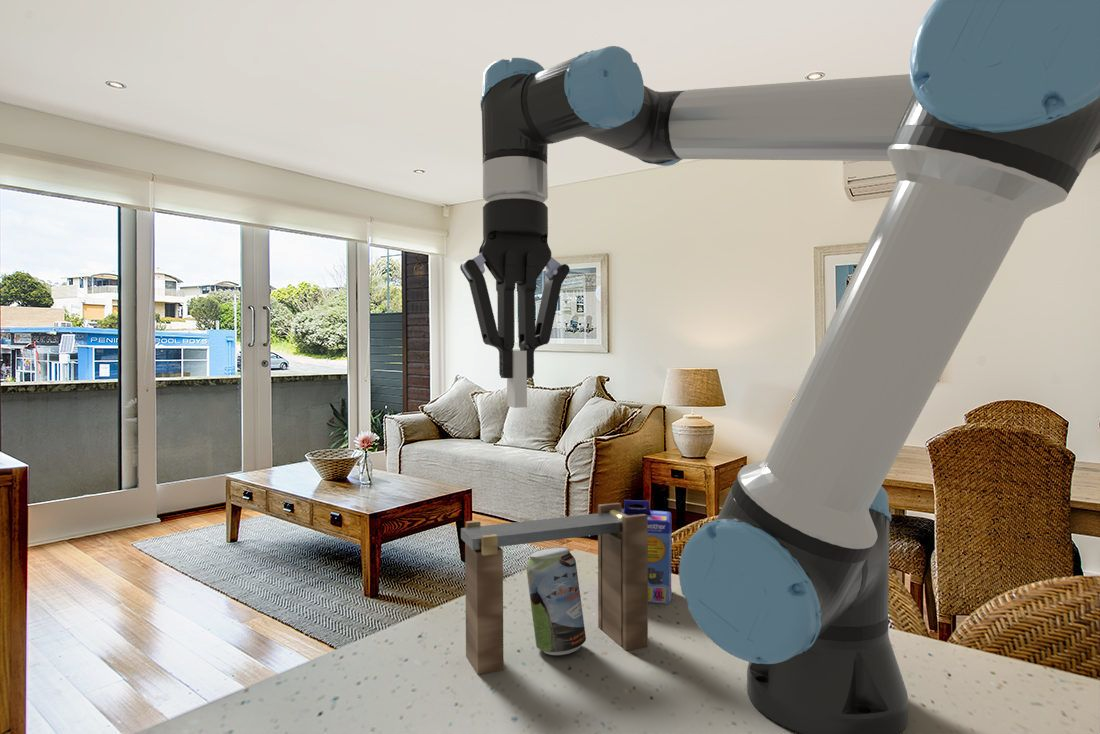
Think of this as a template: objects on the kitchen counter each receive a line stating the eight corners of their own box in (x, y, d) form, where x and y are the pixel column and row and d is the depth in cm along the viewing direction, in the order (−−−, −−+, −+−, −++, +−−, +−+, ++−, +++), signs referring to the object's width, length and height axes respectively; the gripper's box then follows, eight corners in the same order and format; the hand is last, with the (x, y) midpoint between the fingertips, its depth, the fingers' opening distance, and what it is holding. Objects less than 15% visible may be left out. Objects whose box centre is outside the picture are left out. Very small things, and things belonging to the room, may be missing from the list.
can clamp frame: (618, 623, 87) (618, 502, 87) (647, 646, 80) (647, 515, 80) (463, 651, 79) (462, 518, 79) (480, 679, 72) (479, 534, 72)
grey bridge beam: (618, 522, 85) (618, 508, 85) (638, 532, 81) (638, 517, 81) (460, 540, 78) (460, 525, 77) (472, 552, 73) (472, 536, 73)
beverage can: (574, 666, 75) (573, 561, 75) (517, 654, 78) (516, 553, 78) (594, 644, 81) (593, 546, 81) (540, 633, 84) (539, 539, 84)
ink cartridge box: (601, 600, 95) (600, 500, 95) (605, 587, 101) (605, 492, 100) (671, 605, 93) (671, 503, 93) (671, 591, 99) (671, 495, 98)
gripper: (554, 213, 83) (556, 402, 83) (452, 205, 78) (454, 406, 78) (580, 200, 76) (581, 406, 76) (469, 190, 71) (471, 411, 71)
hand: (517, 406), depth 77 cm, fingers closed
